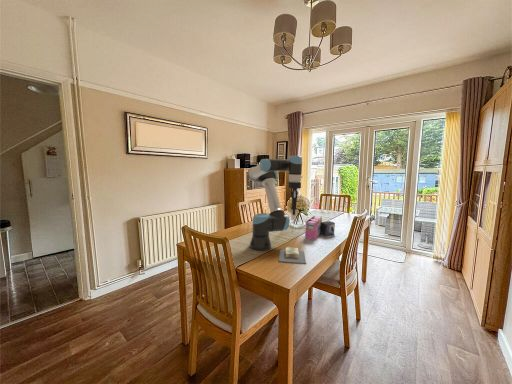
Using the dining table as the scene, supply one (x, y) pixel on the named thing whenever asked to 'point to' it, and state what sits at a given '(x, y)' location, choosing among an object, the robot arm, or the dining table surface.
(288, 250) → the wooden block
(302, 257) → the mat
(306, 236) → the gum box
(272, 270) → the dining table surface
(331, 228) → the small box
